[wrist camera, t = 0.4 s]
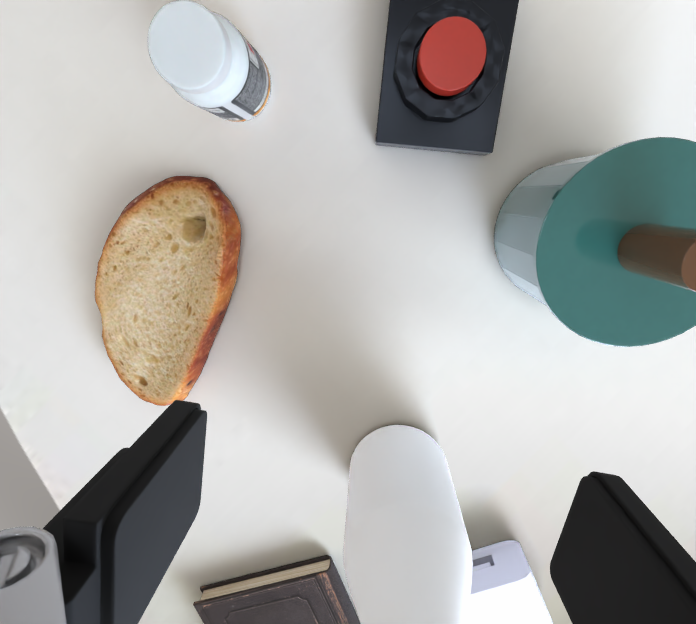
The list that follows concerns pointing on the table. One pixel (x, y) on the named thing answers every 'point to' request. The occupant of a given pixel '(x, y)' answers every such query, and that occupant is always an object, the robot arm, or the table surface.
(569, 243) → the lid
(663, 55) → the table surface
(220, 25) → the pill bottle
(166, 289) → the bread slice
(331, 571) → the hardcover book
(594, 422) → the table surface
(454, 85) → the release button
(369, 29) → the table surface
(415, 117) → the button housing
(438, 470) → the wine bottle
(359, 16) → the table surface
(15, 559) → the robot arm
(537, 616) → the charger
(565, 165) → the canister
